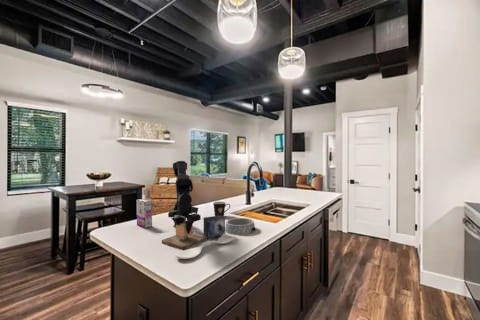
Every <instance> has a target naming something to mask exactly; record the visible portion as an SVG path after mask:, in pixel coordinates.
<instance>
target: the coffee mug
mask: <svg viewBox="0 0 480 320" xmlns="http://www.w3.org/2000/svg"><path fill="white" fill-rule="evenodd" d="M212 204H213V211H214V216H220V215H221V216H223V217H224V218H225V213H226V212H227V211H228V210H229V209H230V208H231V204H230V203H226V201H213V203H212ZM228 205H229V207H228V208H227V209H225V208H226V206H228Z"/></svg>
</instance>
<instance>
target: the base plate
mask: <svg viewBox="0 0 480 320" xmlns="http://www.w3.org/2000/svg"><path fill="white" fill-rule="evenodd" d="M206 241H208V240H207V237H204V236H203V235H200V234H197V233H193V234H191V235H188V236H185V237H182V236H178V235H176V234H174V235H173V236H169V237H166V238H163V239H161V244H163V245H166V246H169V247H172V248H175V249H178V250H181V251H185V250H188V249H190V248H192V247H193V246H196V245H198V244H201V243H203V242H206Z"/></svg>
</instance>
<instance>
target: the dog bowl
mask: <svg viewBox="0 0 480 320" xmlns="http://www.w3.org/2000/svg"><path fill="white" fill-rule="evenodd" d="M253 229H255V230H257V229H256V226H255V222H254V220H253V219H250V218H247V217H238V218H237V217H235V218H231V219H228V220H227V221H225V234H226V233H227V234H229V235H234V236H247V235H251V234H252V230H253Z"/></svg>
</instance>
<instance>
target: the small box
mask: <svg viewBox="0 0 480 320" xmlns="http://www.w3.org/2000/svg"><path fill="white" fill-rule="evenodd" d="M225 228H226V218H225V216H224V217H223V216H221V215H220V216H215V215H214V216H206V217H205V216H204V217H203V235H202V236H204V237H207V240H206V241H208V240H209V241H210V240H212V239H213V240H214V239H219V238H220V237H221V236H222V235H223V234H224V233H225V235H226V232H225ZM225 235H224V236H225Z"/></svg>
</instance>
